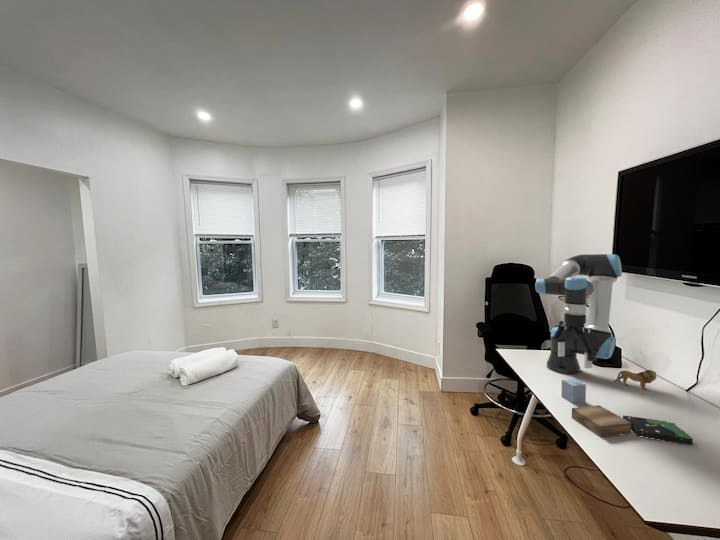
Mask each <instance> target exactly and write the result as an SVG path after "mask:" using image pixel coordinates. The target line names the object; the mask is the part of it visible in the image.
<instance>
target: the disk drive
mask: <svg viewBox="0 0 720 540" xmlns="http://www.w3.org/2000/svg"><path fill="white" fill-rule="evenodd" d="M622 418H623V419H625V420H627V421H629V422H630V423H631V430H632V431H633V432H634V433H635V434H636V435H637V436H636V435H635V434H634V433H633V432H632V431H631V432H632V433H633V434H634V435H635V436H636V437H638V436H643V437H648V438H647V439H650V438H654V439H653V440H656V439H660V440H659V441H662V440H664V441H665V442H668V441H669V443H674V442H675V444H681V445H687V446H693V440H694V439H693V438H692V437H691V436H690V435H689V434H688V433H687V432H685V431H684V430H683V429H682V428H680V427H679V426H678V425H676V423H674V422H670V421H665V420H659V419H652V418H651V419H650V418H643V417H639V416H638V417H637V416H631V415H622ZM643 437H642V438H643Z"/></svg>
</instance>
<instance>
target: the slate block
mask: <svg viewBox="0 0 720 540" xmlns="http://www.w3.org/2000/svg"><path fill="white" fill-rule="evenodd" d="M586 393H587V385H586V383H584V382H582V381H580V380H577V379H575V378H569V379H568V378H566V379H561V398H562V399H563V400H566V401H567V402H569V403H570V404H572V405H576V404H577V405H579V404H586V402H587V401H586V400H587V399H586V397H587V394H586Z"/></svg>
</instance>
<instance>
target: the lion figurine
mask: <svg viewBox="0 0 720 540" xmlns="http://www.w3.org/2000/svg"><path fill="white" fill-rule="evenodd" d="M656 373H657V372H656V371H654V370H653V369H647V370H646V369H645V370H644V371H641V372H638V373H636V372H635V373H634V372H631V371H629V370H625V369H624V370H621V371H619V372H618V374H617V377H616V379H614V380H613V382H617V381H619V383H623V384H624V386H625V387H629V384H627V381H628V379H629V380H632V381H633V382H639V383H640V385H639V386H640V387H641V388H642V389H643V390H644V389H646V390H647V388H646V384H651V383H652V382H654V381H655V380H656V379H657V374H656Z"/></svg>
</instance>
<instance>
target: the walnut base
mask: <svg viewBox="0 0 720 540" xmlns="http://www.w3.org/2000/svg"><path fill="white" fill-rule="evenodd" d="M571 419H573V420H574V421H576V422H577V423H578V424H580V425H582V426H583V427H585V428H586V429H587V430H589V431H591V432H592V433H594V434H595V435H597V436H598V437H600V438H607V437H614V436H613V435H616V436H621V435H620V434H625V435H630V434H629V433H631V434H632V431H631V423H630V422H629V421H627V420H625V419H623V417H621V416H620V415H617V414H616V413H614V412H612V411H610V410H609V409H606V408H605V407H603V406H602V405H600V404H599V405H590V406H589V405H588V406H578V407H572V408H571ZM606 436H607V437H606Z"/></svg>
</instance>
